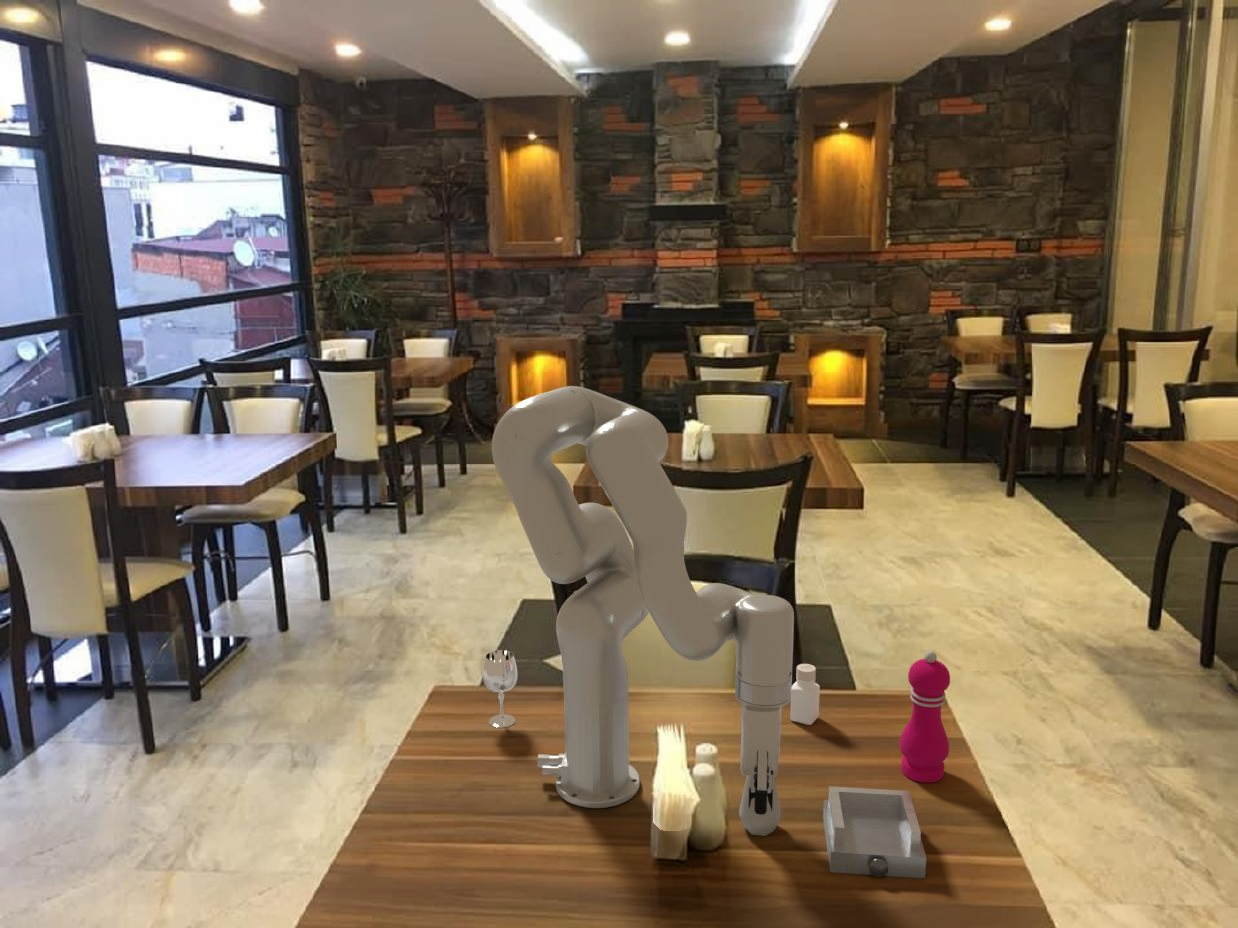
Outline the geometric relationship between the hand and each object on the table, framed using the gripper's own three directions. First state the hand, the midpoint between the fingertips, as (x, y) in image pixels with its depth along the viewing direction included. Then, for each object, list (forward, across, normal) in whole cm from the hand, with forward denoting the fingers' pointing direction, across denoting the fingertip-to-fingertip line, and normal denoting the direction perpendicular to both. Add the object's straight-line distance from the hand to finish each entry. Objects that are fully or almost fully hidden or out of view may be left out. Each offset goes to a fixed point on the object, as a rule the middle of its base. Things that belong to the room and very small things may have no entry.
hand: (760, 806), depth 139 cm
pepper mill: (+3, -17, +25) cm, 30 cm away
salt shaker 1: (+3, 0, 0) cm, 3 cm away
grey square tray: (+3, +3, +15) cm, 16 cm away
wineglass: (+3, -26, -43) cm, 50 cm away
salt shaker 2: (+3, -32, +8) cm, 33 cm away
